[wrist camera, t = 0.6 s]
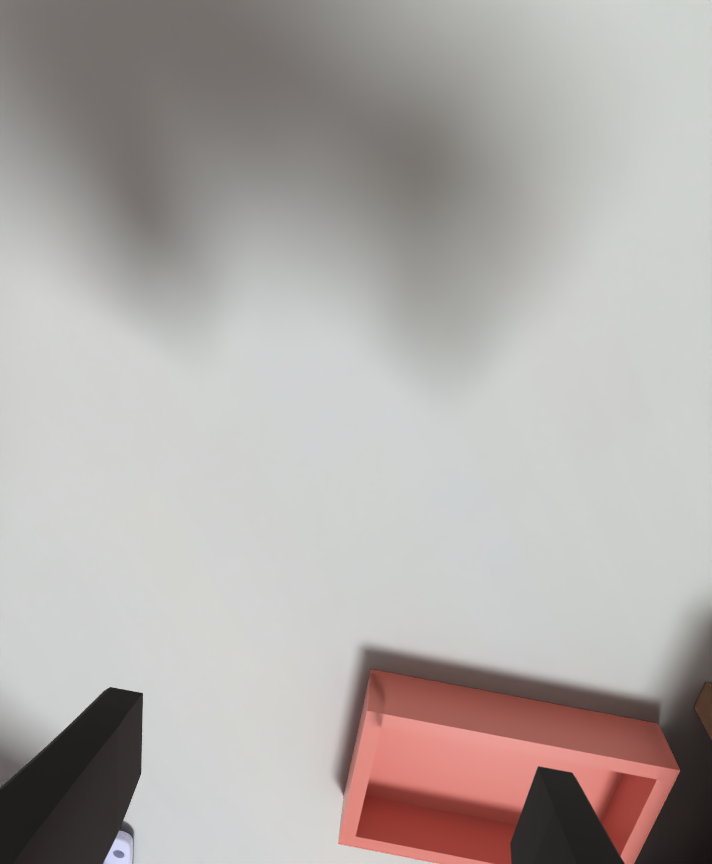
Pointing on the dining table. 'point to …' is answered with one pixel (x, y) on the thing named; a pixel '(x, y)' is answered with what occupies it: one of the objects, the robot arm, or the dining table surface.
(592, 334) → the dining table surface
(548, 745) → the tray
